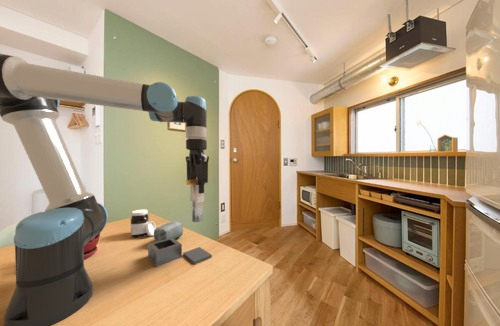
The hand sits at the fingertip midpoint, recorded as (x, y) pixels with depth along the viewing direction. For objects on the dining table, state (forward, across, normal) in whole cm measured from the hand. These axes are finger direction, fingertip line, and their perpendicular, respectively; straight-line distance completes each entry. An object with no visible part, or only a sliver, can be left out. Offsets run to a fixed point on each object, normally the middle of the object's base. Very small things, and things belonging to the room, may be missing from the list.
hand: (197, 200), depth 72 cm
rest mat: (+21, 0, 0) cm, 21 cm away
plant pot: (+21, +32, +32) cm, 50 cm away
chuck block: (+21, +8, +9) cm, 24 cm away
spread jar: (+21, +38, +8) cm, 44 cm away
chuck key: (+7, 0, 0) cm, 7 cm away
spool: (+21, +22, +2) cm, 31 cm away
